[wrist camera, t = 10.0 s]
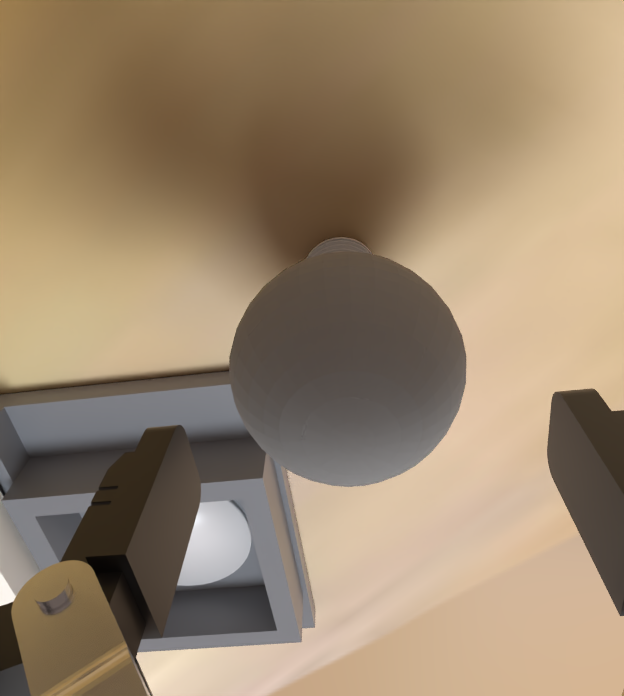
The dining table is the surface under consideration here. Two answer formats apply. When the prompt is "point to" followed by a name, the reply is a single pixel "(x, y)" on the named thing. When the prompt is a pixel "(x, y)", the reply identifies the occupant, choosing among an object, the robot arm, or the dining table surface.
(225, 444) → the housing
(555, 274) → the dining table surface
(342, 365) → the light bulb
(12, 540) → the lid
